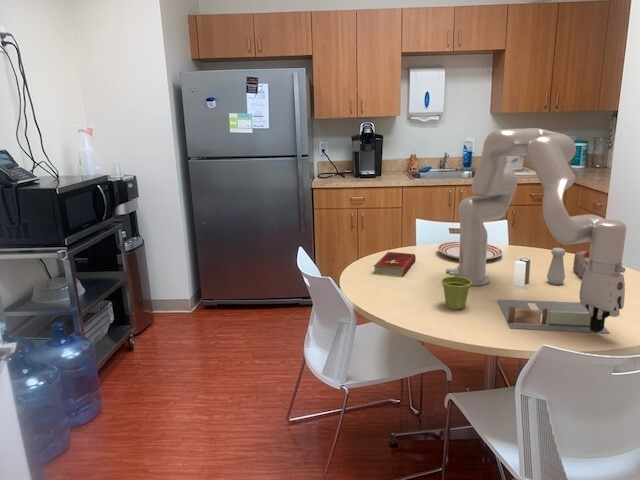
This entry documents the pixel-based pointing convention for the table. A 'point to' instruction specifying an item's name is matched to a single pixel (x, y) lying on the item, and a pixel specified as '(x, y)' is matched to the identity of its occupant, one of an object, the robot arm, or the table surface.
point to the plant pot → (456, 291)
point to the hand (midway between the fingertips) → (596, 330)
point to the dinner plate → (454, 250)
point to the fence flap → (569, 318)
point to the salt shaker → (556, 267)
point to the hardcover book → (395, 264)
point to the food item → (581, 262)
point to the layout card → (551, 307)
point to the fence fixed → (526, 316)
